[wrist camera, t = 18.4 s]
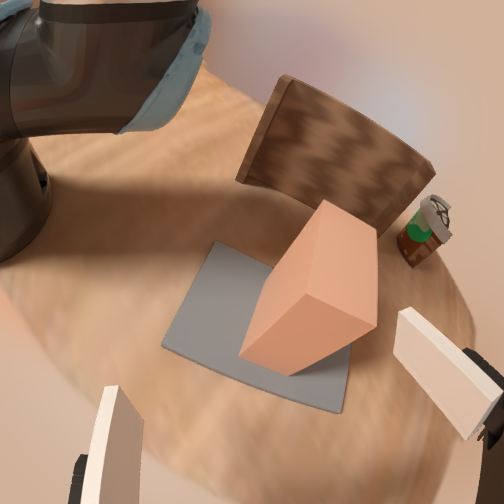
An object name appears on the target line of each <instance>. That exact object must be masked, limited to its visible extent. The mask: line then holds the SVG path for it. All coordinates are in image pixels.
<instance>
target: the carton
mask: <svg viewBox="0 0 504 504" xmlns="http://www.w3.org/2000/svg"><path fill="white" fill-rule="evenodd" d="M377 304H378V260H377V234H376V229H375V228H373V227H371V226H370V225H368V224H366V223H365V222H363V221H361V220H360V219H358V218H356V217H354V216H353V215H351V214H349V213H348V212H346V211H344V210H342V209H341V208H339V207H337V206H335V205H334V204H332V203H330V202H328V201H326V200H325V199H324V200H323V201H322V203H321V204H320V206H319V207H318V208H317V210H316V211H315V213H314V214H313V215H312V217H311V218H310V220H309V221H308V222H307V224H306V225H305V227H304V228H303V229H302V231H301V232H300V234H299V235H298V236H297V238H296V239H295V240H294V242H293V243H292V245H291V246H290V247H289V249H288V250H287V251H286V253H285V254H284V256H283V257H282V258H281V260H280V261H279V262H278V264H277V265H276V266H275V268H274V269H273V271H272V272H271V273H270V275H269V276H268V277H267V279H266V280H265V282H264V285H263V288H262V291H261V294H260V297H259V300H258V302H257V305H256V308H255V311H254V314H253V317H252V319H251V322H250V325H249V328H248V331H247V333H246V336H245V339H244V342H243V345H242V347H241V350H240V353H239V356H238V357H240V358H242V359H245V360H247V361H250V362H252V363H254V364H257V365H259V366H262V367H264V368H267V369H269V370H272V371H275V372H277V373H280V374H283V375H285V376H290V375H292V374H294V373H296V372H298V371H300V370H302V369H304V368H306V367H308V366H310V365H312V364H313V363H315V362H317V361H319V360H321V359H323V358H325V357H326V356H328V355H330V354H332V353H334V352H335V351H337V350H339V349H341V348H342V347H344V346H346V345H348V344H349V343H351V342H353V341H354V340H356V339H358V338H359V337H361V336H363V335H364V334H366V333H368V332H369V331H371V330H372V329H374V328H375V327H377Z"/></svg>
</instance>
